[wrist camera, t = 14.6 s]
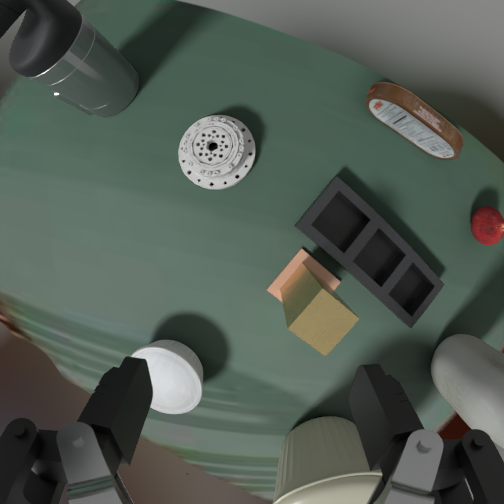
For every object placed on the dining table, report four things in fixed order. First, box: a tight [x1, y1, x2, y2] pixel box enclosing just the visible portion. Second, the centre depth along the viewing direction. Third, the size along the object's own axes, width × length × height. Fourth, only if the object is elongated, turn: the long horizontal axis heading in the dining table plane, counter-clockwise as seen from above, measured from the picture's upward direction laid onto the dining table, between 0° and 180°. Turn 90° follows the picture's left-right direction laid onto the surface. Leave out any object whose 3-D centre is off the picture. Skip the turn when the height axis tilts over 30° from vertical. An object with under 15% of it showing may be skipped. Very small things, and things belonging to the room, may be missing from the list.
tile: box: [267, 248, 340, 302], centre depth 38 cm, size 7×7×1 cm
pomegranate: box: [471, 206, 504, 245], centre depth 32 cm, size 6×6×8 cm
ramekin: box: [131, 340, 203, 414], centre depth 38 cm, size 11×11×5 cm
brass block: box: [280, 263, 359, 356], centre depth 31 cm, size 4×4×14 cm
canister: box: [272, 416, 382, 504], centre depth 31 cm, size 18×18×21 cm
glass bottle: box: [431, 334, 504, 448], centre depth 25 cm, size 10×10×28 cm
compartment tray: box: [295, 177, 444, 328], centre depth 36 cm, size 22×8×2 cm, turn 51°
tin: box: [366, 82, 464, 160], centre depth 31 cm, size 15×3×8 cm, turn 62°
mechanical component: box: [178, 115, 255, 189], centre depth 35 cm, size 10×4×10 cm
